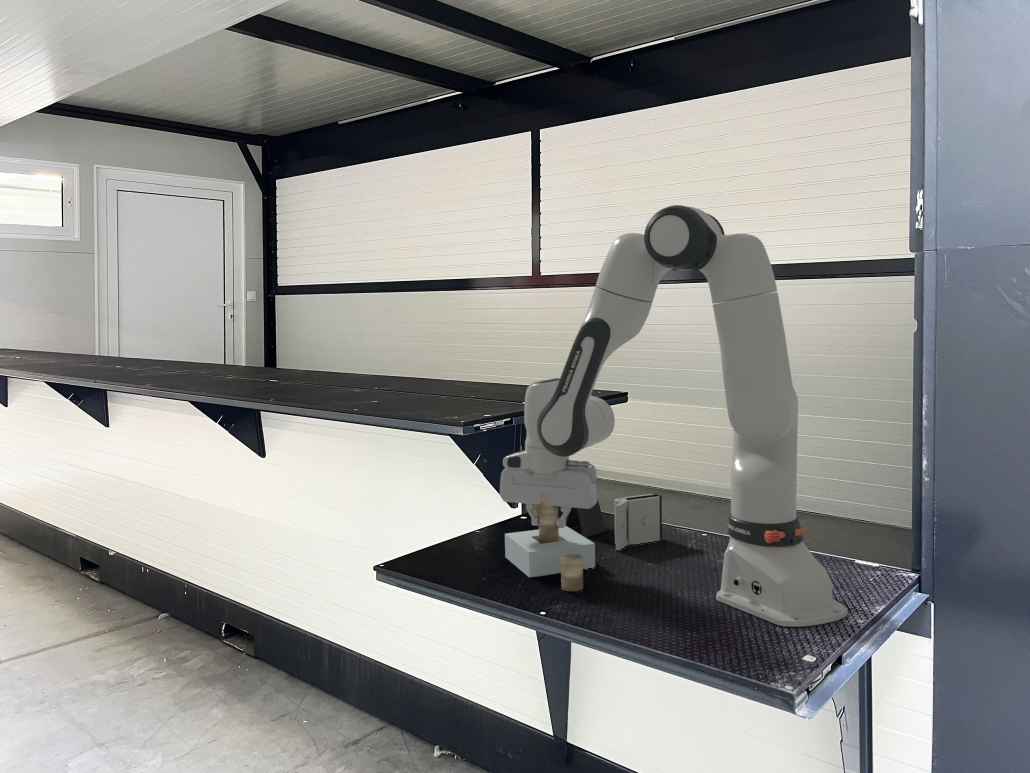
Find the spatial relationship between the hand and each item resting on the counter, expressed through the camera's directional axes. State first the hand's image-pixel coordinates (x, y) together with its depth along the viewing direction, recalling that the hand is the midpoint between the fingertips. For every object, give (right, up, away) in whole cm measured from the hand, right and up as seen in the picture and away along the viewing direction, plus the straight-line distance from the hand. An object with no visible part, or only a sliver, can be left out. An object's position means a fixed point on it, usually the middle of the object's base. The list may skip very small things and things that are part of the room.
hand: (548, 526), depth 163 cm
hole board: (0, -8, +1) cm, 8 cm away
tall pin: (0, -5, +1) cm, 5 cm away
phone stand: (+9, -5, +23) cm, 25 cm away
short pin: (+4, -9, -15) cm, 18 cm away
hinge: (+19, -6, +12) cm, 24 cm away
